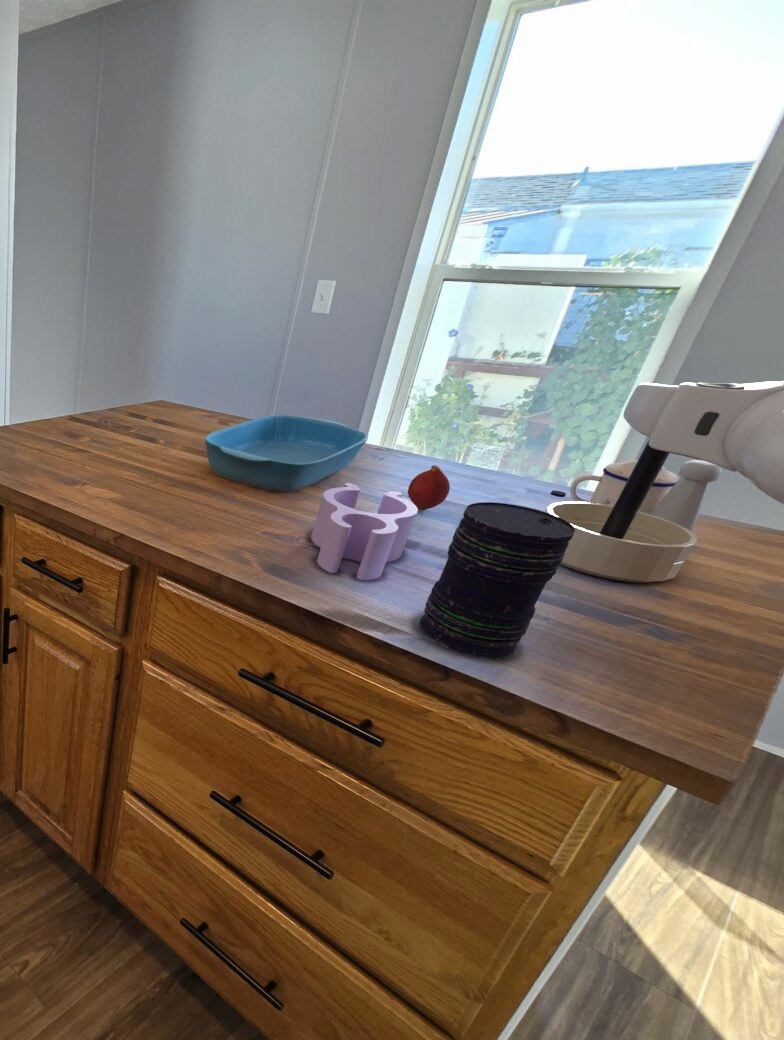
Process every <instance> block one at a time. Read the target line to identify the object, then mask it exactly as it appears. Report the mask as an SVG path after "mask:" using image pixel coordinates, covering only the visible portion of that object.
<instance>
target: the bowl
mask: <svg viewBox="0 0 784 1040" xmlns="http://www.w3.org/2000/svg"><path fill="white" fill-rule="evenodd" d="M613 507H614V506H611V505H605V504H599V503H588V502H575V501H561V502H560V501H559V502H554V503H550V504H549V505H548V506H547V507H546V508H545V511H544V512H546V513H549V514H552V515H554V516H557V517H559V518H561V519H563V520H565V521H567V522H569V523H570V524H571V525H573V526H574V528H575V530H576V531H575V533H574V535H573V537H572V539H571V540H570V541H568V542H569V545H568V547H567V549H566V551H565V555H564V557H563V559H562V561H561V563H560V565H561V566H564V567H567V568H569V569H572V570H574V571H577V572H580V573H584V574H587V575H591V576H595V577H598V578H604V579H607V580H608V579H609V580H613V581H619V582H627V583H653V582H665V581H669V580H672V579H675V578H676V576H677V575H678V573H679V571H680V570H681V569H682V566H683V565H684V564H685V562H686V560H687V559H688V557H689V556H690V554H691V552H692V550H693V548H694V547H695V546H696V544H697V543H698V540H699V538H698V537H697V535H696V534H695V533H694V532H691V531H689V530H688V529H686V528H684V527H682V526H681V525H678V524H676V523H673V522H671V521H668V520H666V519H663V518H660V517H657V516H654V515H650V514H647V513H644V512H640V511H638V512H637V514H636V516H635V517H634V519H633V521H632V523H631V525H630V527H629V528H628V530H627V532H626V534H625V536H624V538H623V539H625V540H623V539H618V538H614V537H610V536H606V535H602V534H598V533H600V532H601V530H602V528H603V526H604V524H605V522H606V520H607V518H608V516H609V514H610V513H611V511H612V509H613Z"/></svg>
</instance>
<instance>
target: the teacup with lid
mask: <svg viewBox="0 0 784 1040" xmlns="http://www.w3.org/2000/svg"><path fill="white" fill-rule="evenodd" d="M637 461H638V459H632V460H627V461H625V462H614V463H613V462H612V463H609V464H608V465H605V467H604V468H603V469H602V472H603V473H602V475H601V476H600V475H594V474H585V475H581V476H578V477H577V478H576V479H574V480H573V482H572V483H571V486H570V489H569V492H570V497H571V499H572V500H573V502H588V503H599V504H605V505H611V506H614V505H615V503H616V501H617V499H618V497H619V495H620V494H621V492H622V490H623V488H624V486H625V484H626V482H627V480H628V478H629V476H630V474H631V473H632V471H633V469H634V467H635V465H636V463H637ZM679 479H680V478H679V475H677V474H675V473H674V472H671V471H669V470H667V468H665V466H664V465H663V466H662V468H661V470H660V472H659V473H658V475H657V477H656V479H655V481H654V483H653V484H652V486H651V488H650V490H649V492H648V494H647V495H646V497H645V499H644V501H643V503H642V505H641V506H640V508H639V510H638V511H640V512H644V513H647V514H650V513H651V512H652V511H653V510H654V508H655V507H656V506H657V505H658V504H659V503H660V501H661V500H662V499H663V498H664V497H665V495H666V494H667V493H668V492H669V491H670V490H671V488H672V487H673V486H674V485H675V484H676V483H677V481H678V480H679ZM584 481H595V482H598V483H597V484H596V487H595V489H594V491H593V493H592V495H591V497H590V499H589V500H585V499H583V498H580V497H579V496H578V494H577V492H576V491H577V487H578V485H579V484H581V483H582V482H584Z"/></svg>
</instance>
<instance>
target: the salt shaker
mask: <svg viewBox="0 0 784 1040" xmlns="http://www.w3.org/2000/svg"><path fill="white" fill-rule="evenodd" d="M722 473H723V468H722V467H720V466H718V465H715V464H713V463H710V462H707V461H704V460H699V459H693V460H692V459H691V460H687V461H685V462H683V463H682V465H681V466H680V468H679V470H678V476H680V478H679V480H678V481H677V483H676V484H675V485H674V486H673V487H672V488H671V490H670V491H669V492H668V493H667V494H666V495H665V497H664V498H663V499H662V500H661V501H660V503H659V504H658V505H657V506H656V507H655V508H654V510H653V511H652V512H651V513H650V515H654V516H657V517H660V518H663V519H666V520H668V521H671V522H673V523H676V524H678V525H681V526H682V527H684V528H686V529H688V530H689V531H691V532H693V533H694V531H695V528H696V526H697V522H698V518H699V515H700V512H701V509H702V505H703V502H704V499H705V495H706V494H707V490H708V487H709V484H710V483H711V482H712V483H713V482H716V481H717V480H719V478H720V477H721V476H722Z"/></svg>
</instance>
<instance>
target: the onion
mask: <svg viewBox="0 0 784 1040" xmlns="http://www.w3.org/2000/svg"><path fill="white" fill-rule="evenodd" d="M450 490H451V485H450V481H449V479H448V477H447V475H446V474H445V473H444V472H443V471H442V469H441V467H439V465H436V464H434V465H431V468H430V469H428V470H425V471H423V472H420V473H418V474H417V475H415V476H414V477H413V479H412V480H411V481H410V483H409V485H408V489H407V495H408V499H410V502H412V503H413V504H414V505H415V506H416V507H417V509H418V511H420V512H423V511H427V510H430V509H433V508H436V507H437V506H439V505H441V504H442V503H443V502H445V500H446V499H447V497H448V495H449V494H450Z"/></svg>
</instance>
